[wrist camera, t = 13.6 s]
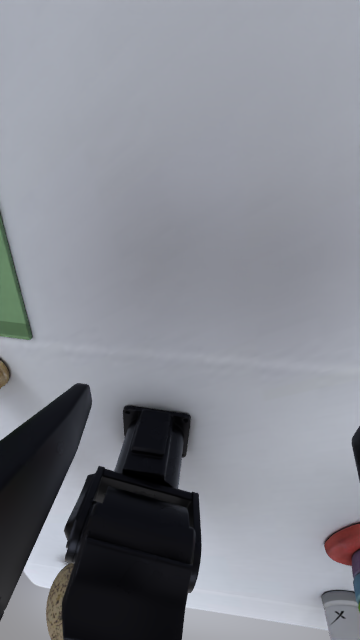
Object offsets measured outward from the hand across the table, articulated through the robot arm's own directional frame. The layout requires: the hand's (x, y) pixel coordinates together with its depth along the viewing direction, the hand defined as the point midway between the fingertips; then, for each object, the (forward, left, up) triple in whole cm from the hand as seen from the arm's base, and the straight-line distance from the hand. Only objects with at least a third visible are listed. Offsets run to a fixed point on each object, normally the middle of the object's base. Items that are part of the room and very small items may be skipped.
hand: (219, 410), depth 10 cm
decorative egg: (-59, +17, -12) cm, 63 cm away
